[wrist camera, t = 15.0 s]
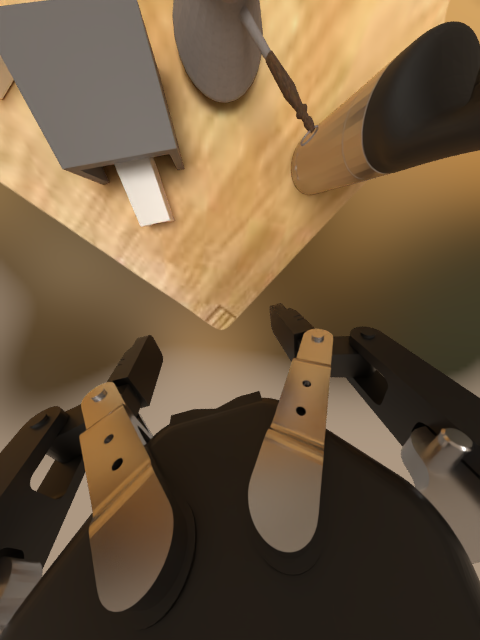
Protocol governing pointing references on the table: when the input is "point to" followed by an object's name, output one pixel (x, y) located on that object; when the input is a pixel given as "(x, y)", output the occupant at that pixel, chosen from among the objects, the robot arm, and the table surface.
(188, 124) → the table surface
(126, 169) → the long white plank
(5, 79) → the medicine bottle
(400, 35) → the table surface
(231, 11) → the coffee pot
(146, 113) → the shelf
